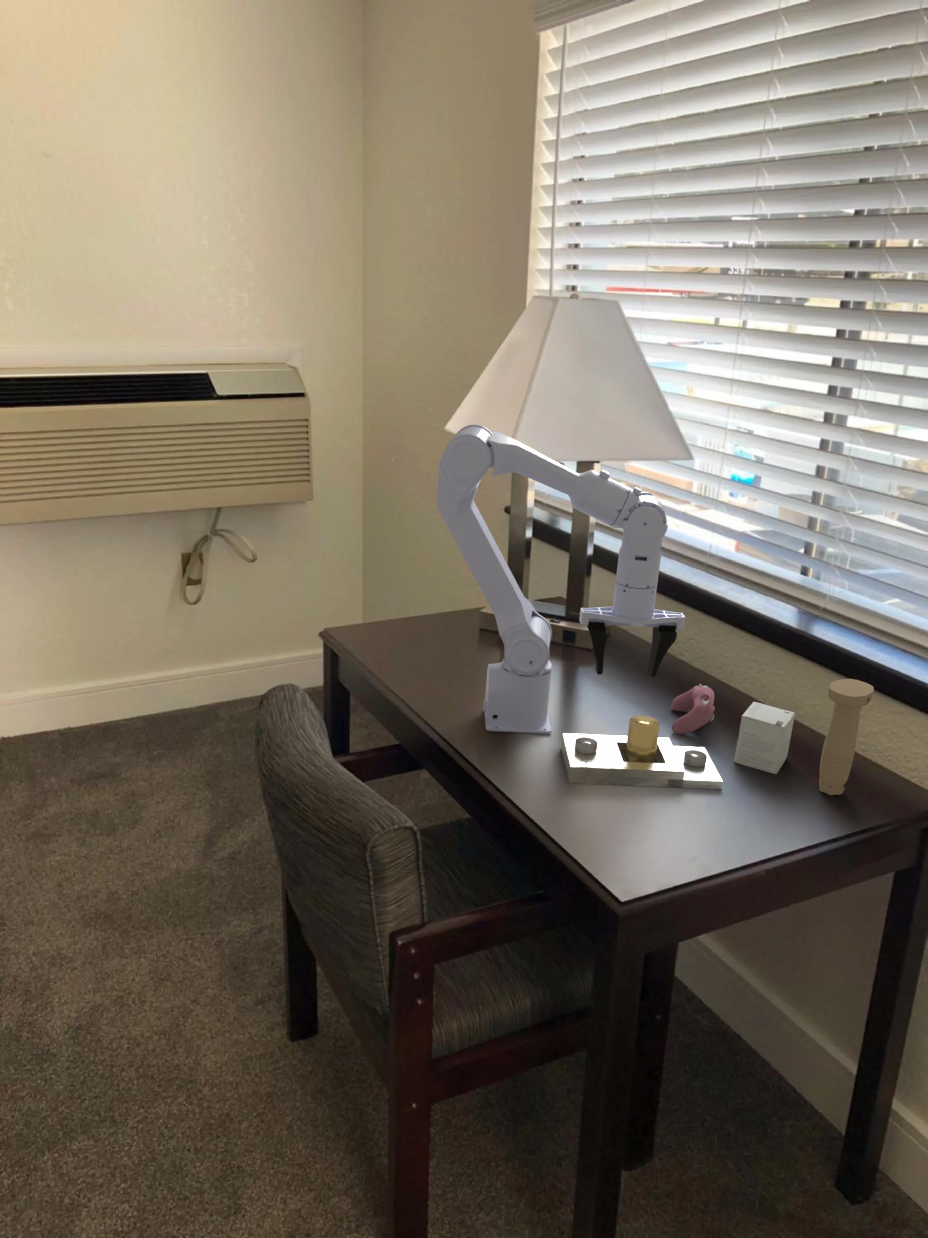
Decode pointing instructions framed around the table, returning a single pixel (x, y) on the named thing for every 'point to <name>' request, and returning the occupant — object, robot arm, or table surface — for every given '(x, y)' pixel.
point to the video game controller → (693, 709)
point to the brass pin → (642, 739)
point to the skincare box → (764, 737)
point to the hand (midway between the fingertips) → (625, 673)
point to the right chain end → (694, 764)
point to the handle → (842, 733)
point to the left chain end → (614, 759)
